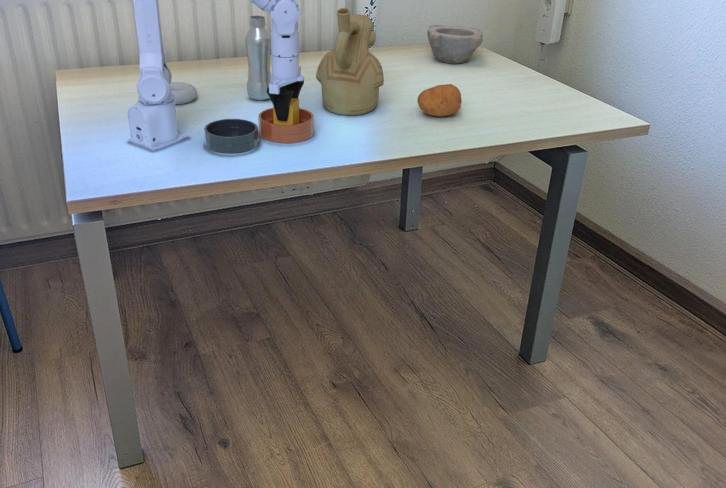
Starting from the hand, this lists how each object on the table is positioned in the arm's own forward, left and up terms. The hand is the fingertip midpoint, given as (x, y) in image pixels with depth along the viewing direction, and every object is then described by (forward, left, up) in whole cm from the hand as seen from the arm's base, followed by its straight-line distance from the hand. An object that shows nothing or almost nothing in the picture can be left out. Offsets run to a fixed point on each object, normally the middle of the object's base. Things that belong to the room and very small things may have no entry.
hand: (286, 116), depth 146 cm
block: (0, 0, -2) cm, 2 cm away
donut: (+1, +36, -4) cm, 36 cm away
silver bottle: (+15, +21, -4) cm, 26 cm away
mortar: (+82, +1, -4) cm, 82 cm away
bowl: (0, 0, -4) cm, 4 cm away
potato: (+34, -20, -4) cm, 40 cm away
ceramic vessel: (+24, 0, -4) cm, 24 cm away
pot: (-12, +5, -4) cm, 14 cm away
